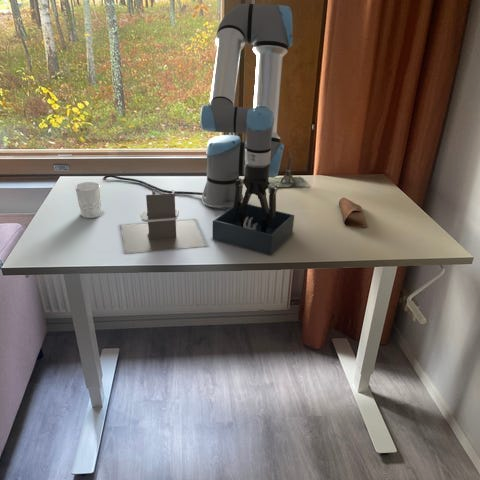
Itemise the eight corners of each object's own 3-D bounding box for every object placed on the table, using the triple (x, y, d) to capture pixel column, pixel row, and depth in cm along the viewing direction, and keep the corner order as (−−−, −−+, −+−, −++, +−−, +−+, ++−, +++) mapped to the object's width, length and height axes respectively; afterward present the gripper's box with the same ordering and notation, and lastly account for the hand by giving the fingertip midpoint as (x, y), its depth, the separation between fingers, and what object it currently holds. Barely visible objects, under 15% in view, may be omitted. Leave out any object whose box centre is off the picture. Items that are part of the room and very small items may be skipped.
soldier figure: (263, 230, 170) (265, 235, 158) (252, 240, 171) (254, 246, 159) (248, 213, 168) (249, 216, 156) (237, 222, 169) (237, 227, 157)
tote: (212, 239, 162) (212, 220, 158) (237, 219, 175) (238, 201, 171) (270, 255, 155) (272, 235, 151) (292, 233, 168) (294, 215, 164)
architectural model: (120, 225, 168) (115, 183, 159) (194, 219, 174) (193, 178, 165) (125, 253, 152) (120, 207, 144) (206, 246, 158) (206, 201, 150)
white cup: (107, 212, 176) (104, 184, 170) (93, 220, 170) (89, 192, 164) (89, 207, 179) (85, 180, 173) (74, 215, 173) (70, 187, 167)
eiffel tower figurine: (300, 177, 211) (304, 145, 203) (309, 186, 203) (313, 153, 195) (266, 179, 208) (268, 146, 200) (273, 188, 200) (276, 154, 192)
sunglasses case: (368, 226, 173) (361, 210, 170) (349, 235, 175) (342, 219, 172) (360, 205, 188) (354, 190, 184) (343, 214, 190) (336, 199, 187)
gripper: (222, 161, 152) (221, 231, 165) (281, 173, 145) (275, 245, 158) (234, 154, 157) (232, 223, 171) (291, 166, 150) (285, 236, 164)
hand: (253, 233), depth 164 cm, fingers closed on soldier figure, 6 cm apart
